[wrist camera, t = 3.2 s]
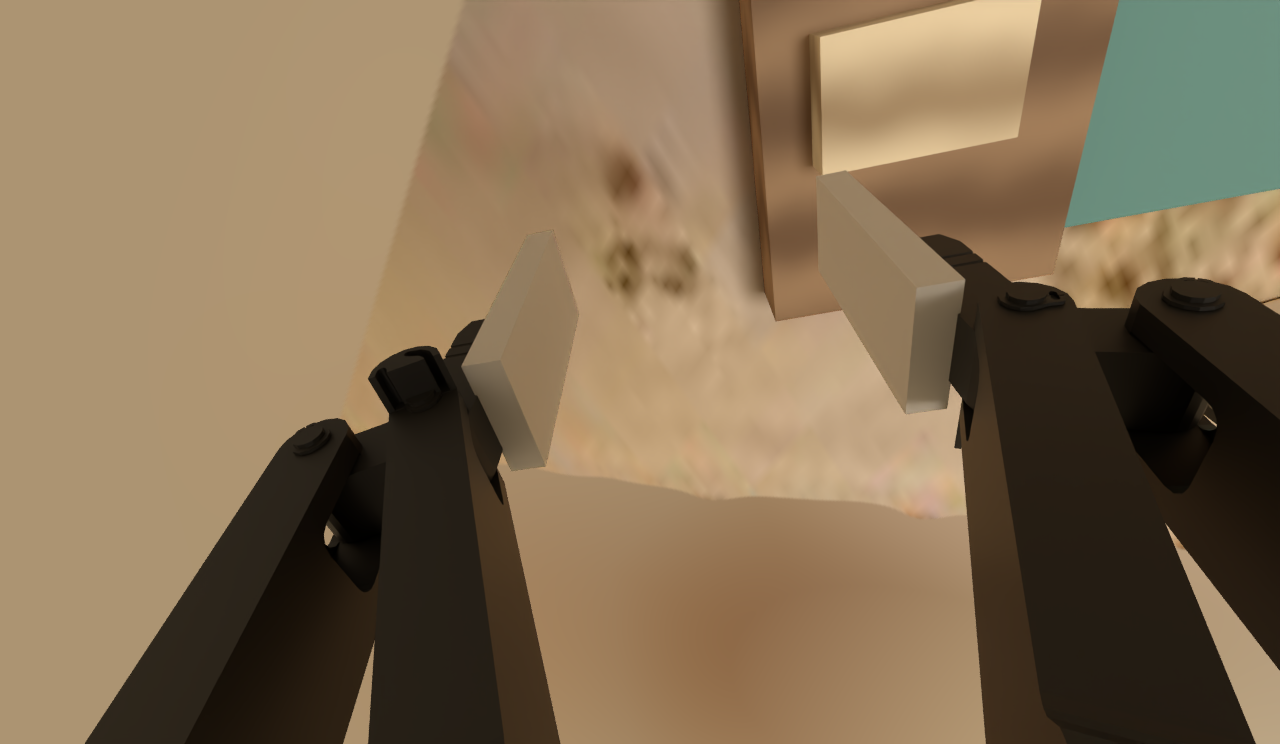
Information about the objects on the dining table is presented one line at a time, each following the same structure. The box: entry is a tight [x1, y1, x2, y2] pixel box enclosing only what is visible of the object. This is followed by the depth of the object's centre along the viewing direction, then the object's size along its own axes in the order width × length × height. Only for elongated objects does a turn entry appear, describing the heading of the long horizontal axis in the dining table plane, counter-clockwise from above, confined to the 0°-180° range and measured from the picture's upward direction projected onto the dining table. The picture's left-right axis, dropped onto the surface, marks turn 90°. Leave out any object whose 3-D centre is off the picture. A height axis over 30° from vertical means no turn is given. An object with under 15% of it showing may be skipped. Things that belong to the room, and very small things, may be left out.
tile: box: [809, 0, 1041, 175], centre depth 25 cm, size 6×9×2 cm, turn 102°
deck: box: [739, 0, 1119, 321], centre depth 28 cm, size 24×16×4 cm, turn 12°
